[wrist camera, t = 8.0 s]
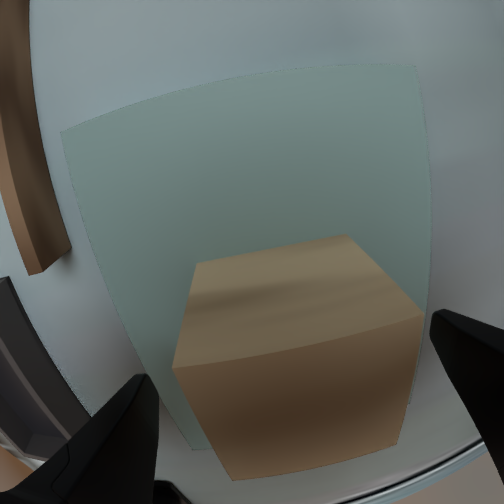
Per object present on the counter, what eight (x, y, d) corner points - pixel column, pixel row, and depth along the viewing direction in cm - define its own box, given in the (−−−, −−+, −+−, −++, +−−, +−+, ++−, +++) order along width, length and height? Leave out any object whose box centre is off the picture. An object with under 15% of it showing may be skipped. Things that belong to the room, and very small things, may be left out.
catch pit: (112, 443, 17) (104, 471, 14) (34, 434, 17) (24, 456, 15) (8, 276, 12) (-19, 299, 10) (-57, 295, 12) (-78, 313, 10)
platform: (396, 380, 16) (409, 403, 14) (195, 423, 16) (192, 450, 14) (389, 73, 10) (415, 65, 8) (85, 131, 10) (60, 132, 8)
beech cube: (350, 348, 12) (396, 444, 7) (230, 373, 12) (232, 480, 7) (346, 233, 10) (423, 313, 5) (196, 263, 10) (171, 367, 5)
